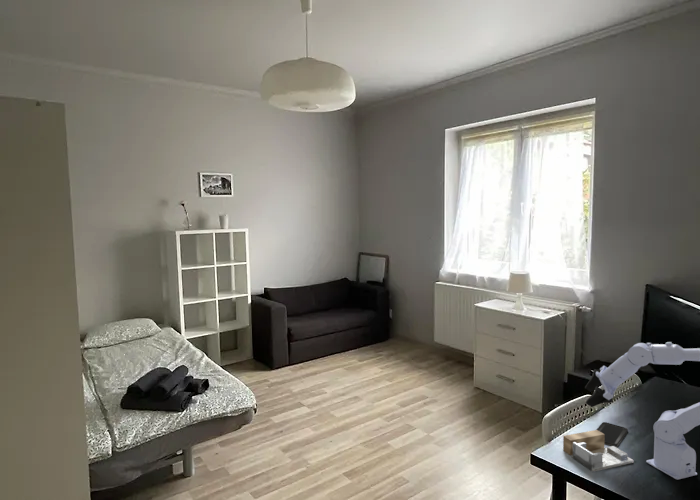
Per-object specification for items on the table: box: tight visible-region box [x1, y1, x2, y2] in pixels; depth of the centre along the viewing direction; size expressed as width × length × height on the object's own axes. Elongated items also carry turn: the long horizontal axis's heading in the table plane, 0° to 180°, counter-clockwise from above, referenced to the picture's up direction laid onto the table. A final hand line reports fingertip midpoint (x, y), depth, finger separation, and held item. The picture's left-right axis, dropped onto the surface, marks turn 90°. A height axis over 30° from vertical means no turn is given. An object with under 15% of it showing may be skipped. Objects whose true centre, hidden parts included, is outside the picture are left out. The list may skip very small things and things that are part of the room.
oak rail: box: [562, 429, 605, 456], centre depth 138 cm, size 13×3×5 cm, turn 105°
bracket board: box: [571, 442, 634, 473], centre depth 131 cm, size 15×8×5 cm, turn 106°
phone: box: [596, 421, 628, 448], centre depth 147 cm, size 8×1×15 cm
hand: (588, 396), depth 142 cm, fingers open, 7 cm apart
